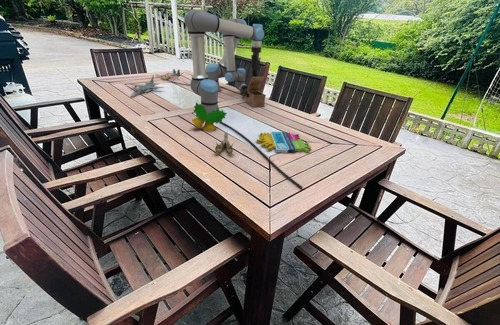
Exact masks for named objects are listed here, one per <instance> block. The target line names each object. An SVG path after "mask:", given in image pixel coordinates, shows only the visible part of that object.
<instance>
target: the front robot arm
mask: <svg viewBox="0 0 500 325" xmlns="http://www.w3.org/2000/svg"><path fill="white" fill-rule="evenodd" d="M183 22H184V25H185V27H186V29H187V35H188V36H189V37H190V46H191V47H190V48H191V58H192V59H191V60H192V70H193V74H192V75H191V81H190V83H189V85H190V86H189V87H190V90H191V91H192V92H193V93H194V94H195V95H197V96H199V97H200V104H201V106H204V109H206V112H208V113H211V112H212V110H214V111H216V110H217V109H219V111H221V110H220V108H219V102H218V99H219V98H218V97H219V92H218V85H217V83H216V82H215V81H213V80H209V79H208V75H207V74H206V55H205V53H206V52H205V39H204V38H205V36H206V34H207V33H214V34H217V33H221V34H222V33H227V34H231V35H236V36H239V37H240V38H241V39H248V40H251V47H250V49H251V50H250V51H251V53H252V54H251V55H250V58H251V69H252V71H254V73H253V74H254V77H258V75H257V71H259V69H260V64H261V63H260V62H261V56H260V54H261V53H262V44H263V39H264V37H265V31H264V30H263V29H264V26H263V24H260V23H253V24H252V26H251V25H248V24H247V25H244V24H240V23H236V22H232V21H228V19H225V18H220V16H219V15H216V14H212V13H210V12H208V11H206V10H199V9H191V10H188V11H187V12H186V13H185V15H184V19H183ZM252 77H253V75H252V74H251V78H252ZM208 113H207V115H208ZM218 123H220V124H222V125H223V126H225V127H227V128H229V129H230V130H232V131H234V132H235V133H237V134H238V135H240V136H241V138H243V139H245V140H246V142H248V143H249V144H250V145H252V147H254V149H256V151H258V152H259V154H260V155H262V156H263V157H264V158H265V159H266V161H268V162H269V163H270V164H271V165H272V166H273V168H275V169H276V170H277V171H278V172H280V174H282V176H284V177H285V178H287V179H288V180H289V181H290V182H292V183H293V184H294V185H296V186H297V187H298V188H299V189H300V190H301V189H303V186H302V185H301V184H299V183H298V182H297V181H295V180H294V179H293V178H291V177H290V176H289V175H288V174H286V172H284V171H283V170H282V169H280V167H279V166H277V165H276V164H275V163H274V162H273V161H272V160H271V159H270V158H269V157H267V155H266V154H265V153H264V152H263V151H262V150H261V149H260V148H259V147H258V146H257V145H256V144H254V143H253V141H251V140H250V139H248V138H247V136H245V135H244V134H243V133H241V132H239V131H238V130H237V129H235V128H233V127H232V126H230V125H229V124H227V123H225V122H223V121H222V122H221V121H219V122H218Z"/></svg>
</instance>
